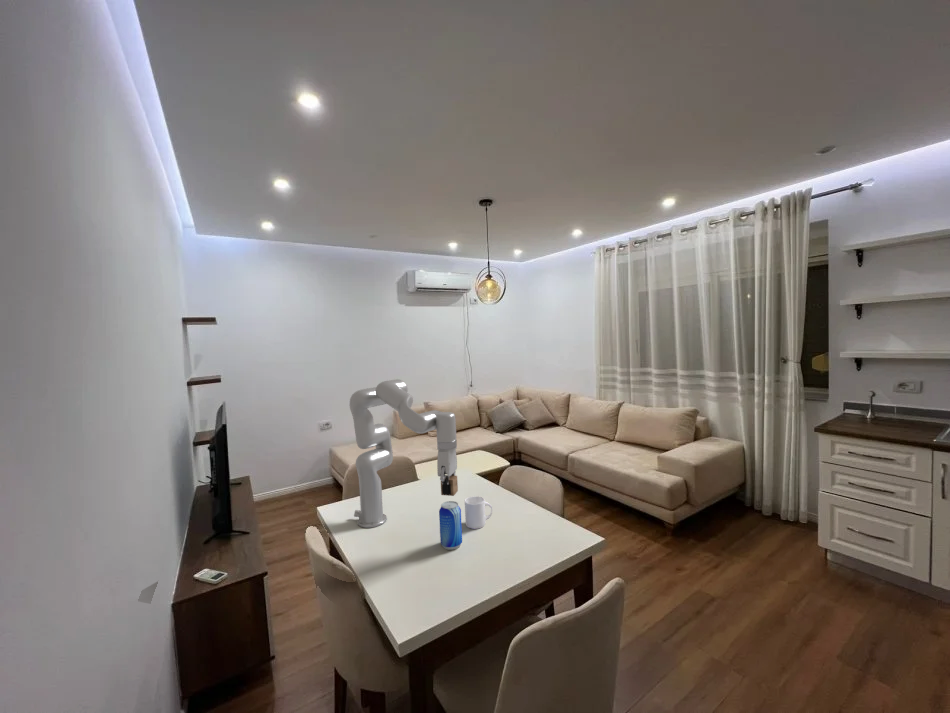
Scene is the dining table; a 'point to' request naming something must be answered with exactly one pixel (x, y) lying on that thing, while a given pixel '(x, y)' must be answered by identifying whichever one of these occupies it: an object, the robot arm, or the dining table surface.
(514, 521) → the dining table surface
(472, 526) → the mug
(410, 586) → the dining table surface
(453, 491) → the walnut block
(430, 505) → the dining table surface
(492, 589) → the dining table surface
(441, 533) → the beer can
